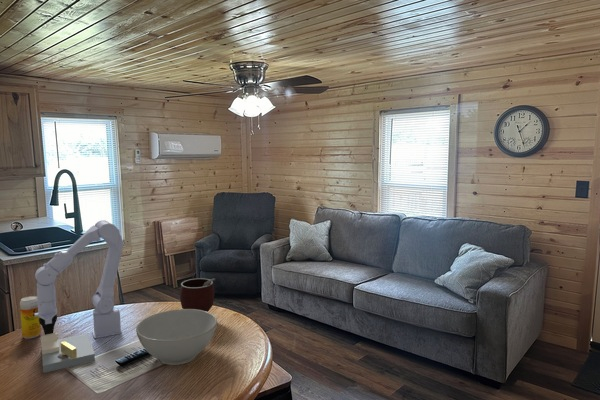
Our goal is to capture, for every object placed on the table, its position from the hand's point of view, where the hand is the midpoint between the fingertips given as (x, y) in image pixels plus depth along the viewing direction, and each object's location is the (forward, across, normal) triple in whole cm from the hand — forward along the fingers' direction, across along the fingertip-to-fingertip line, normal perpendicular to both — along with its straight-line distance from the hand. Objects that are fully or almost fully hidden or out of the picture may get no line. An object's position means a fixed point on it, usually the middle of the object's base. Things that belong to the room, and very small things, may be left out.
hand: (49, 336), depth 152 cm
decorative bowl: (+4, +32, +38) cm, 50 cm away
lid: (+1, +8, 0) cm, 8 cm away
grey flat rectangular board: (+4, +11, +5) cm, 13 cm away
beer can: (+4, -14, -6) cm, 15 cm away
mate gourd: (+4, +8, +54) cm, 54 cm away
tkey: (+1, +19, +5) cm, 20 cm away
